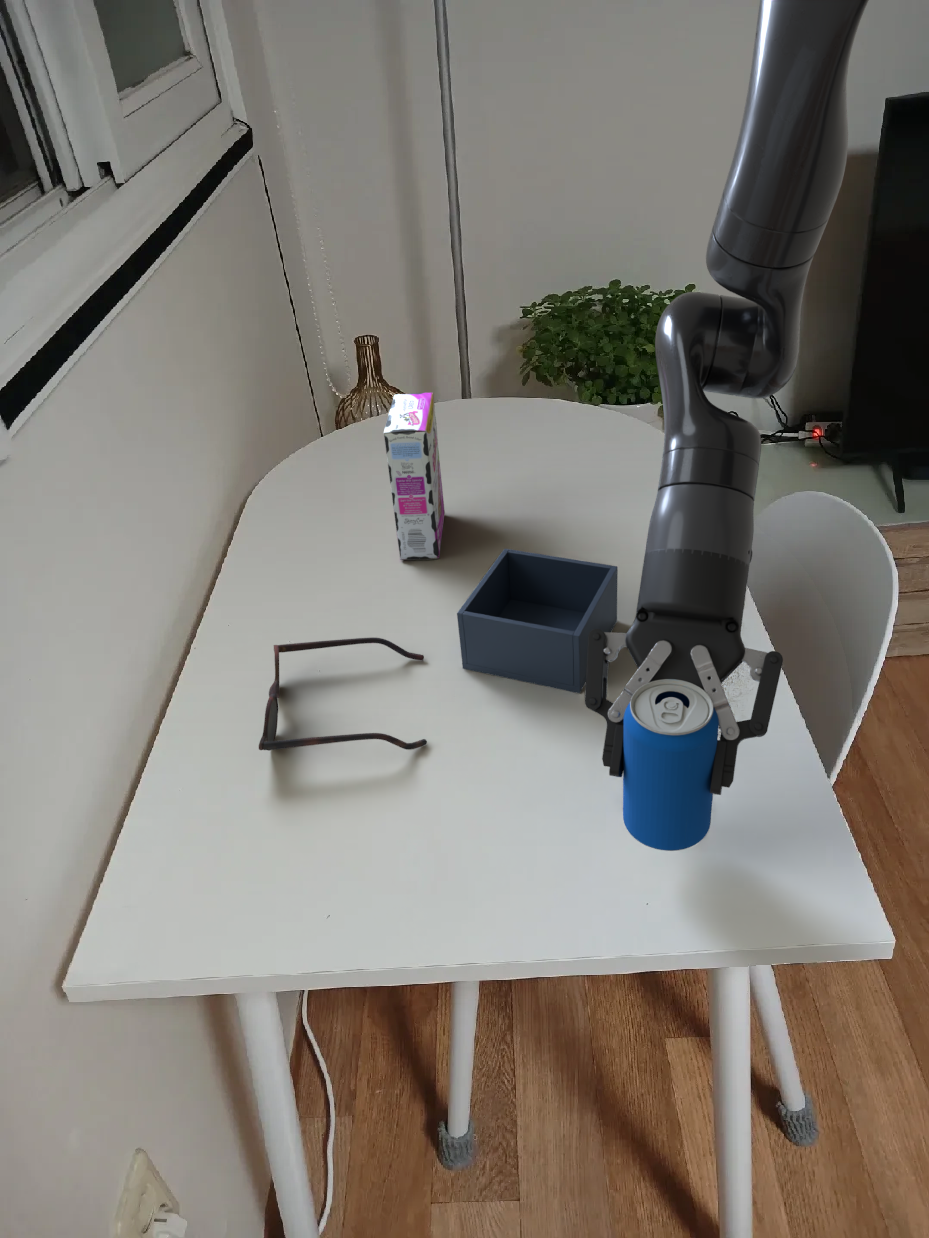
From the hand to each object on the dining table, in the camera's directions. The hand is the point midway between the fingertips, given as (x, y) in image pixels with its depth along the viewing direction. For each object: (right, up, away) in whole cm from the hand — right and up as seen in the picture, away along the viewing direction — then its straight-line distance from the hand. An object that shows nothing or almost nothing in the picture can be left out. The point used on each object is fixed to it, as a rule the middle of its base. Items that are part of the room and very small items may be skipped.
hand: (665, 784), depth 68 cm
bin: (-6, +9, +29) cm, 31 cm away
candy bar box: (-19, +22, +48) cm, 56 cm away
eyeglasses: (-25, +3, +23) cm, 35 cm away
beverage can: (+1, -4, +5) cm, 6 cm away
